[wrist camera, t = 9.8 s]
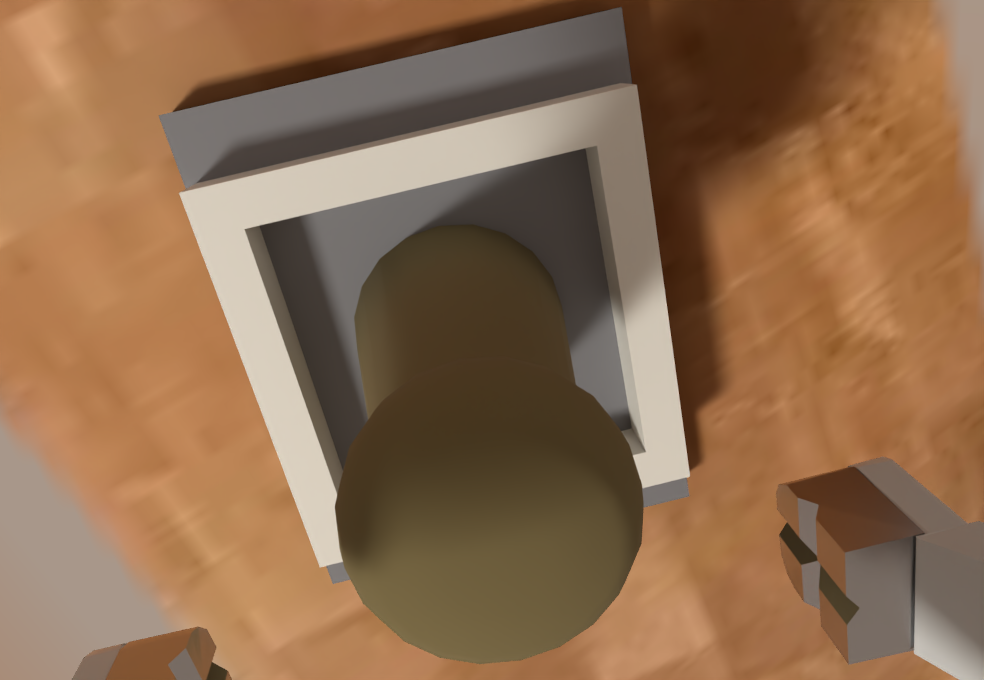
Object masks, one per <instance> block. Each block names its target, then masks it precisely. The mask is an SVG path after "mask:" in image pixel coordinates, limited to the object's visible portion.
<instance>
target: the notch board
mask: <svg viewBox="0 0 984 680" xmlns="http://www.w3.org/2000/svg"><path fill="white" fill-rule="evenodd" d="M159 118H160V121H161V123H162V126H163V129H164V131H165V134H166V137H167V139H168V142H169V145H170V147H171V150H172V153H173V156H174V158H175V161H176V164H177V166H178V169H179V172H180V174H181V177H182V180H183V182H184V185H185V188H186V189H185V190H183V191H182V192H180V193H179V194H180V197H181V199H182V202H183V205H184V207H185V210H186V213H187V215H188V218H189V221H190V223H191V226H192V229H193V231H194V234H195V237H196V239H197V242H198V245H199V247H200V250H201V253H202V255H203V258H204V261H205V263H206V266H207V268H208V271H209V274H210V276H211V279H212V282H213V284H214V287H215V290H216V292H217V295H218V298H219V300H220V303H221V306H222V308H223V311H224V314H225V316H226V319H227V322H228V324H229V327H230V330H231V332H232V335H233V338H234V340H235V343H236V345H237V348H238V351H239V353H240V356H241V359H242V361H243V364H244V367H245V369H246V372H247V375H248V377H249V380H250V383H251V385H252V388H253V391H254V393H255V396H256V399H257V401H258V404H259V407H260V409H261V412H262V415H263V417H264V420H265V423H266V425H267V428H268V430H269V433H270V436H271V438H272V441H273V444H274V446H275V449H276V452H277V454H278V457H279V460H280V462H281V465H282V468H283V470H284V473H285V476H286V478H287V481H288V484H289V486H290V489H291V492H292V494H293V497H294V500H295V502H296V505H297V507H298V510H299V513H300V515H301V518H302V521H303V523H304V526H305V529H306V531H307V534H308V537H309V539H310V542H311V545H312V547H313V550H314V553H315V555H316V558H317V561H318V563H319V566H320V567H323V566H326V567H327V569H328V572H329V575H330V577H331V580H332V583H333V584H334V583H338V582H342V581H346V580H351V579H350V577H349V576H348V574H347V572H346V570H345V568H344V565H343V560H342V556H341V552H340V548H339V540H338V531H337V523H336V514H335V503H336V498H337V494H338V489H339V485H340V481H341V477H342V473H343V470H344V466H345V462H346V458H347V454H348V450H349V447H350V445H351V444H352V442H353V441H354V439H355V438H356V437H357V435H358V434H359V432H360V431H361V429H362V428H363V426H364V425H365V423H366V422H367V421H368V415H367V409H366V402H365V396H364V390H363V383H362V377H361V371H360V364H359V358H358V351H357V343H356V332H355V322H354V316H355V312H356V308H357V304H358V300H359V296H360V292H361V288H362V285H363V284H364V282H365V281H366V279H367V278H368V276H369V275H370V273H371V271H372V270H373V268H374V267H375V265H376V264H377V262H378V261H379V259H380V258H381V257H383V256H384V255H385V254H386V253H388V252H389V251H390V250H391V249H393V248H394V247H395V246H397V245H398V244H399V243H400V242H402V241H403V240H404V239H405V238H407V237H410V236H412V235H415V234H418V233H421V232H423V231H426V230H429V229H431V228H434V227H437V226H447V225H470V224H473V225H477V226H480V227H484V228H488V229H491V230H495V231H499V232H502V233H506V234H507V235H509V236H510V237H512V238H513V239H515V240H516V241H518V242H519V243H521V244H522V245H524V246H525V247H527V248H528V249H530V250H531V251H533V253H534V254H535V255H536V256H537V258H538V259H539V260H540V262H541V263H542V264H543V266H544V267H545V268H546V270H547V271H548V272H549V273H550V275H551V276H552V278H553V281H554V284H555V287H556V290H557V293H558V296H559V299H560V302H561V305H562V309H563V315H564V320H565V326H566V332H567V337H568V343H569V349H570V354H571V360H572V365H573V371H574V377H575V382H576V385H577V386H578V387H580V388H582V389H583V390H585V391H586V392H588V393H590V394H591V395H593V396H594V397H595V398H596V400H597V401H598V402H599V403H600V405H601V406H602V407H603V408H604V410H605V411H606V412H607V413H608V415H609V416H610V417H611V418H612V420H613V421H614V422H615V423H616V425H617V426H618V427H619V428H620V430H621V432H622V433H623V435H624V437H625V438H626V440H627V442H628V443H629V445H630V448H631V452H632V455H633V458H634V461H635V464H636V467H637V470H638V474H639V477H640V480H641V483H642V491H643V502H644V507H648V506H652V505H656V504H660V503H664V502H668V501H672V500H676V499H680V498H684V497H688V496H689V492H688V484H687V477H690V472H689V465H688V457H687V450H686V443H685V435H684V428H683V421H682V413H681V406H680V398H679V391H678V384H677V376H676V369H675V362H674V354H673V347H672V340H671V332H670V325H669V317H668V310H667V303H666V295H665V288H664V281H663V273H662V266H661V259H660V251H659V244H658V236H657V229H656V222H655V214H654V207H653V200H652V192H651V185H650V178H649V170H648V163H647V156H646V148H645V141H644V133H643V126H642V119H641V111H640V104H639V97H638V89H637V85H635V84H632V79H631V71H630V64H629V57H628V50H627V42H626V35H625V28H624V21H623V13H622V7H619V8H615V9H611V10H606V11H602V12H598V13H594V14H589V15H585V16H581V17H577V18H572V19H568V20H564V21H560V22H555V23H551V24H547V25H543V26H538V27H534V28H530V29H525V30H521V31H517V32H513V33H508V34H504V35H500V36H496V37H491V38H487V39H483V40H479V41H474V42H470V43H466V44H462V45H457V46H453V47H449V48H444V49H440V50H436V51H432V52H427V53H423V54H419V55H415V56H410V57H406V58H402V59H398V60H393V61H389V62H385V63H381V64H376V65H372V66H368V67H363V68H359V69H355V70H351V71H346V72H342V73H338V74H334V75H329V76H325V77H321V78H317V79H312V80H308V81H304V82H300V83H295V84H291V85H287V86H282V87H278V88H274V89H270V90H265V91H261V92H257V93H253V94H248V95H244V96H240V97H236V98H231V99H227V100H223V101H219V102H214V103H210V104H206V105H201V106H197V107H193V108H189V109H184V110H180V111H176V112H172V113H167V114H163V115H159Z"/></svg>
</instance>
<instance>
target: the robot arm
mask: <svg viewBox="0 0 984 680" xmlns="http://www.w3.org/2000/svg"><path fill="white" fill-rule="evenodd" d="M776 498H777V510H778V511H779V512H780V513H781V515H782V516H783V517H784V519H785V520H786V521H787V523H786V525H785V526H784V528H783V530H782V531H781V533H780V534H779V538H780V547H781V555H782V558H783V562H784V565H785V568H786V571H787V574H788V576H789V578H790V580H791V582H792V584H793V586H794V588H795V590H796V591H797V592H798V594H799V595H800V597H801V598H802V600H803V601H804V602H805V603H807V604H809V605H812V606H814V607H816V608H818V609H820V616H821V627H822V628H823V630H824V631H825V632H826V634H827V635H828V636H829V638H830V639H831V641H832V642H833V643H834V645H835V646H836V648H837V649H838V650H839V652H840V653H841V655H842V656H843V657H844V659H845V660H846V661H847V663H848V664H853V663H858V662H862V661H867V660H871V659H876V658H881V657H885V656H890V655H894V654H899V653H903V652H908V651H912V650H914V654H916V655H917V656H919V657H921V658H923V659H924V660H926V661H928V662H930V663H931V664H933V665H935V666H936V667H938V668H940V669H942V670H943V671H945V672H947V673H949V674H950V675H952V676H954V677H956V678H957V679H959V680H984V523H983V522H980V521H978V522H973V523H969V524H968V523H966V522H965V521H964V520H963V519H962V518H960V517H959V516H958V515H957V514H956V513H955V512H953V511H952V510H951V509H950V508H949V507H947V506H946V505H945V504H944V503H943V502H942V501H940V500H939V499H938V498H937V497H936V496H934V495H933V494H932V493H931V492H930V491H929V490H927V489H926V488H925V487H924V486H923V485H921V484H920V483H919V482H918V481H917V480H916V479H914V478H913V477H912V476H911V475H910V474H908V473H907V472H906V471H905V470H904V469H903V468H901V467H900V466H899V465H898V464H897V463H895V462H894V461H893V460H892V459H889V458H886V457H880V458H876V459H872V460H869V461H865V462H861V463H858V464H854V465H850V466H848V467H847V468H843V469H839V470H835V471H831V472H827V473H823V474H819V475H815V476H811V477H807V478H803V479H799V480H795V481H791V482H787V483H783V484H779V485H778V489H777V493H776ZM215 650H216V645H215V644H214V642H213V640H212V638H211V636H210V634H209V632H208V631H207V629H204V628H201V627H194V628H190V629H185V630H181V631H176V632H172V633H168V634H163V635H158V636H154V637H149V638H145V639H140V640H136V641H132V642H129V643H127V644H120V645H116V646H111V647H107V648H103V649H98V650H94V651H92V652H91V653H90V654H88V655H87V656H85V657H84V658H83V660H82V662H81V663H80V665H79V667H78V669H77V671H76V673H75V675H74V677H73V678H72V680H232V679H231V677H230V674H229V672H228V671H227V670H225V669H223V668H222V667H220V666H218V665H216V664H214V663H213V662H212V660H213V656H214V653H215Z"/></svg>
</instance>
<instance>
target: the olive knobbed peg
mask: <svg viewBox="0 0 984 680" xmlns="http://www.w3.org/2000/svg"><path fill="white" fill-rule="evenodd" d="M354 322H355V332H356V343H357V351H358V358H359V364H360V371H361V377H362V383H363V390H364V396H365V402H366V409H367V415H368V421H367V422H366V423H365V425H364V426H363V428H362V429H361V431H360V432H359V434H358V435H357V437H356V438H355V439H354V441H353V442H352V444H351V445H350V447H349V450H348V454H347V458H346V462H345V466H344V470H343V473H342V477H341V481H340V485H339V489H338V494H337V498H336V503H335V514H336V523H337V531H338V540H339V548H340V552H341V556H342V560H343V565H344V568H345V570H346V572H347V574H348V576H349V577H350V579H351V581H352V583H353V585H354V587H355V589H356V591H357V593H358V594H359V596H360V598H361V600H362V602H363V604H364V605H366V606H367V607H368V608H369V609H370V610H371V611H372V612H373V613H374V614H375V615H376V616H377V617H378V618H379V619H380V620H381V621H383V622H384V623H385V624H386V625H387V626H388V627H389V628H390V629H391V630H392V631H394V632H395V633H396V634H397V635H398V636H399V637H400V638H401V639H402V640H403V641H405V642H407V643H409V644H411V645H414V646H416V647H418V648H420V649H422V650H424V651H427V652H429V653H431V654H433V655H435V656H437V657H440V658H445V659H452V660H458V661H464V662H470V663H477V664H486V663H496V662H507V661H518V660H523V659H526V658H529V657H532V656H535V655H537V654H540V653H543V652H546V651H549V650H552V649H555V648H557V647H560V646H562V645H563V644H565V643H566V642H568V641H569V640H571V639H572V638H574V637H575V636H577V635H578V634H580V633H581V632H583V631H584V630H586V629H587V628H589V627H590V626H592V625H593V624H594V623H595V622H596V621H597V619H598V618H599V617H600V616H601V615H602V614H603V612H604V611H605V610H606V609H607V608H608V607H609V605H610V604H611V603H612V602H613V601H614V600H615V598H616V597H617V596H618V595H619V593H620V591H621V589H622V587H623V585H624V583H625V581H626V579H627V576H628V574H629V572H630V569H631V567H632V565H633V562H634V560H635V557H636V555H637V553H638V550H639V548H640V546H641V541H642V524H643V507H644V502H643V491H642V483H641V480H640V477H639V474H638V470H637V467H636V464H635V461H634V458H633V455H632V452H631V448H630V445H629V443H628V442H627V440H626V438H625V437H624V435H623V433H622V432H621V430H620V428H619V427H618V426H617V425H616V423H615V422H614V421H613V420H612V418H611V417H610V416H609V415H608V413H607V412H606V411H605V410H604V408H603V407H602V406H601V405H600V403H599V402H598V401H597V400H596V398H595V397H594V396H593V395H591V394H590V393H588V392H586V391H585V390H583V389H582V388H580V387H578V386H577V385H576V382H575V377H574V371H573V365H572V360H571V354H570V349H569V343H568V337H567V332H566V326H565V320H564V315H563V309H562V305H561V302H560V299H559V296H558V293H557V290H556V287H555V284H554V281H553V278H552V276H551V275H550V273H549V272H548V271H547V270H546V268H545V267H544V266H543V264H542V263H541V262H540V260H539V259H538V258H537V256H536V255H535V254H534V253H533V251H531V250H530V249H528V248H527V247H525V246H524V245H522V244H521V243H519V242H518V241H516V240H515V239H513V238H512V237H510V236H509V235H507V234H506V233H502V232H499V231H495V230H491V229H488V228H484V227H480V226H477V225H473V224H470V225H447V226H437V227H434V228H431V229H429V230H426V231H423V232H421V233H418V234H415V235H412V236H410V237H407V238H405V239H404V240H403V241H402V242H400V243H399V244H398V245H397V246H395V247H394V248H393V249H391V250H390V251H389V252H388V253H386V254H385V255H384V256H383V257H381V258H380V259H379V261H378V262H377V264H376V265H375V267H374V268H373V270H372V271H371V273H370V275H369V276H368V278H367V279H366V281H365V282H364V284H363V285H362V288H361V292H360V296H359V300H358V304H357V308H356V312H355V316H354Z"/></svg>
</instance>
